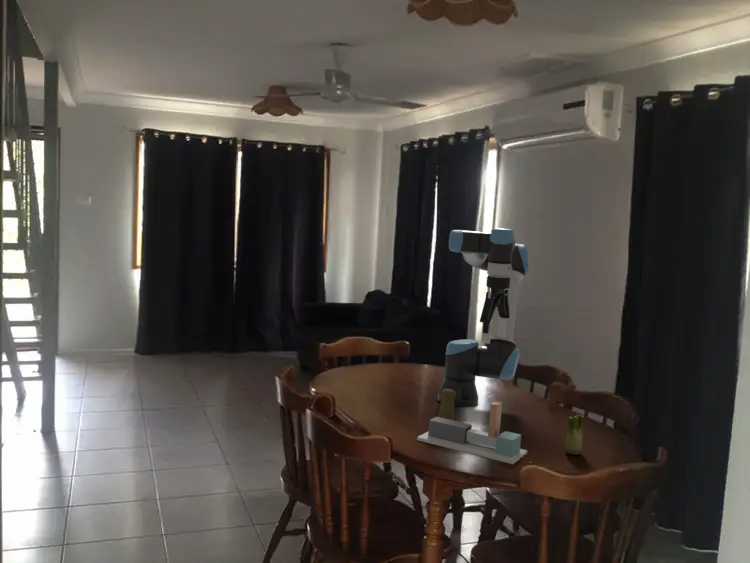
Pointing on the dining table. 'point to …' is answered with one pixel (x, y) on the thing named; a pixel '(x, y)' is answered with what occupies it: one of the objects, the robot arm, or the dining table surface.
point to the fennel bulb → (574, 436)
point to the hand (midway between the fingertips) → (493, 340)
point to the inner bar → (494, 428)
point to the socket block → (508, 444)
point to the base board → (472, 448)
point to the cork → (447, 404)
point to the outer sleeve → (448, 430)
